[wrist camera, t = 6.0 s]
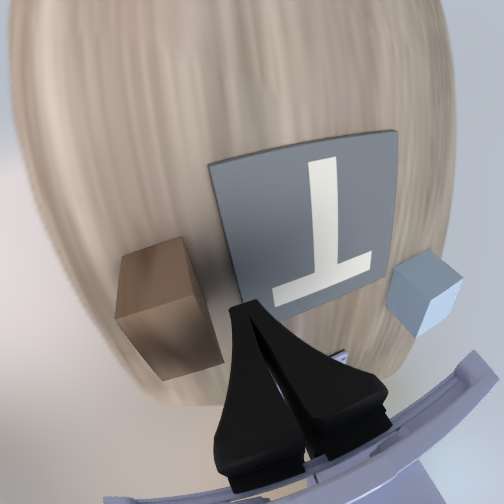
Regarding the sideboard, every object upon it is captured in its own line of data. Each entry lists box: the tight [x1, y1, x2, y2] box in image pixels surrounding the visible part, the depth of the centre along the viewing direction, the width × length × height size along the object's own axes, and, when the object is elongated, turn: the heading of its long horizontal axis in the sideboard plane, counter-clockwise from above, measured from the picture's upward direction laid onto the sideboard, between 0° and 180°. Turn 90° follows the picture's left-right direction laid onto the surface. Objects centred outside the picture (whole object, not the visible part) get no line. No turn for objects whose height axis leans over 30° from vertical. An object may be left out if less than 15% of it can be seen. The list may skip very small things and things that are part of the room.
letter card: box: [208, 130, 398, 322], centre depth 17 cm, size 12×12×1 cm
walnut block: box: [115, 236, 224, 381], centre depth 14 cm, size 5×5×4 cm
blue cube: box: [386, 250, 463, 338], centre depth 22 cm, size 5×5×5 cm
